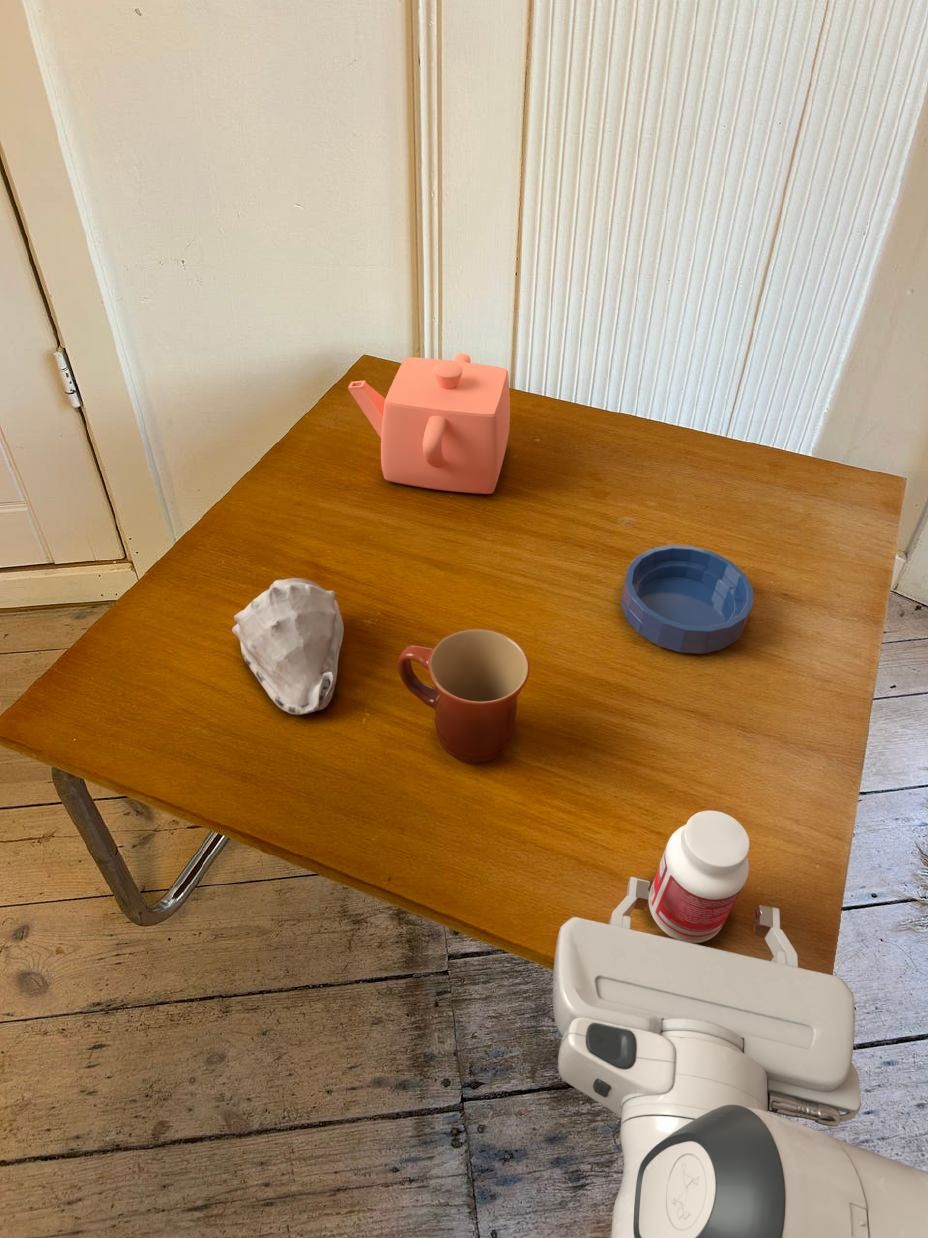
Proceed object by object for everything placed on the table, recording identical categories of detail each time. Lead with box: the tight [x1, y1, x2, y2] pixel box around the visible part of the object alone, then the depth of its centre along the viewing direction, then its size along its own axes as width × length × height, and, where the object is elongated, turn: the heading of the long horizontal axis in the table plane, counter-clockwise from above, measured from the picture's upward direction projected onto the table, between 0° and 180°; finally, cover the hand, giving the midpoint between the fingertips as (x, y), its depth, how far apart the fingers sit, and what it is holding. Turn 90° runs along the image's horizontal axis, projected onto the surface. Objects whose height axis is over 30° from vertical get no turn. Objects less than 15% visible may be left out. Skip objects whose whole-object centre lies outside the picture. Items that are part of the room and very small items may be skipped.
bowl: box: [620, 544, 754, 654], centre depth 93 cm, size 13×14×4 cm
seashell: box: [231, 577, 345, 716], centre depth 84 cm, size 12×14×10 cm
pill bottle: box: [648, 810, 751, 944], centre depth 66 cm, size 6×6×11 cm
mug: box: [397, 628, 530, 764], centre depth 78 cm, size 12×9×10 cm
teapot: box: [347, 352, 511, 495], centre depth 108 cm, size 20×22×14 cm
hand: (701, 895), depth 65 cm, fingers open, 8 cm apart
